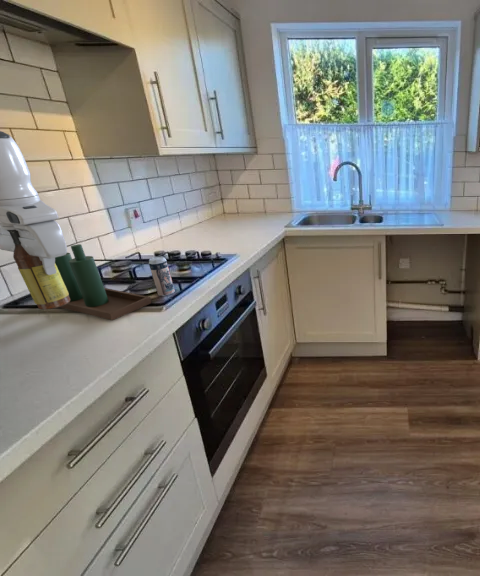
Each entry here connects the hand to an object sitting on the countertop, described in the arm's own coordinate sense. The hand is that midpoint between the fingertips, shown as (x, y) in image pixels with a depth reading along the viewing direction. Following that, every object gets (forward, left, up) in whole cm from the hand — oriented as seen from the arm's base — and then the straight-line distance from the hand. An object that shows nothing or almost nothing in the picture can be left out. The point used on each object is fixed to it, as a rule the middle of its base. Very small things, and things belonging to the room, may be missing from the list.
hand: (41, 271), depth 82 cm
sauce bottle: (0, 0, -9) cm, 9 cm away
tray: (-16, +16, -18) cm, 29 cm away
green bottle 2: (-16, +16, -18) cm, 29 cm away
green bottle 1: (-27, +16, -18) cm, 36 cm away
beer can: (-3, +29, -19) cm, 35 cm away
